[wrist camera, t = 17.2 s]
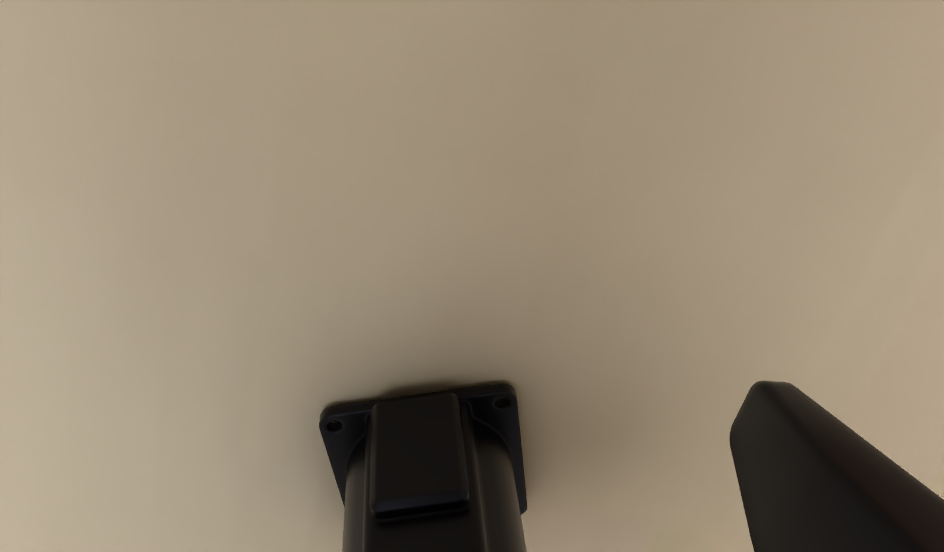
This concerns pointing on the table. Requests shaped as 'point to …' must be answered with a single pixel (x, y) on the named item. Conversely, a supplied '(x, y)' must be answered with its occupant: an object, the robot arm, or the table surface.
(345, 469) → the robot arm
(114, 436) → the table surface
